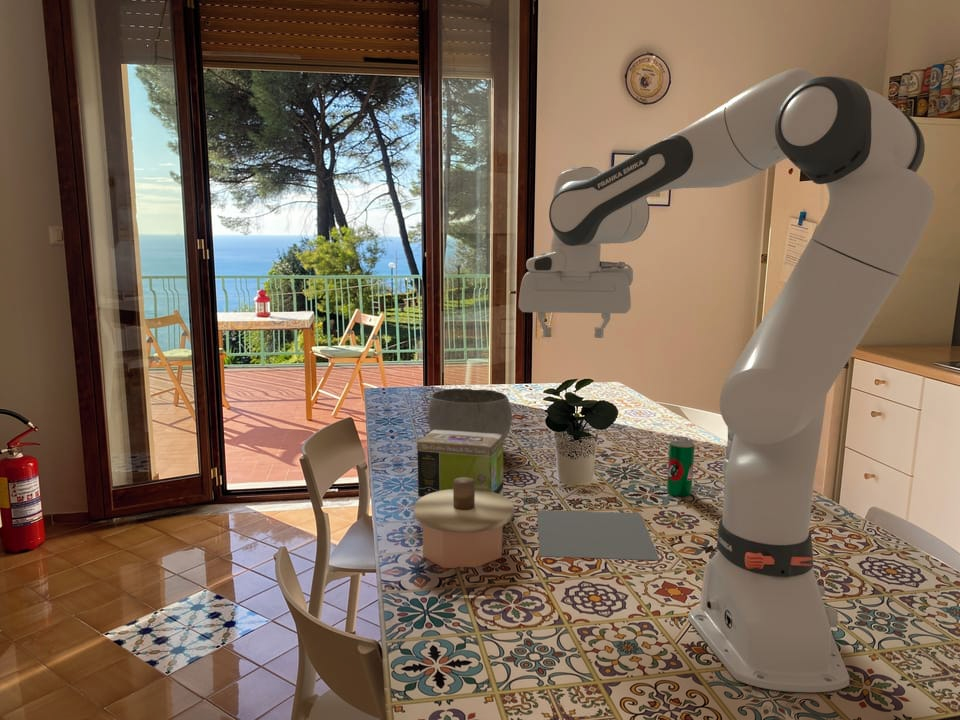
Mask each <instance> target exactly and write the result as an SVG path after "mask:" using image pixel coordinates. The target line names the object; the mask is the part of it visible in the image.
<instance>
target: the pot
mask: <svg viewBox="0 0 960 720" xmlns="http://www.w3.org/2000/svg"><path fill="white" fill-rule="evenodd" d="M503 527H504V525H502V526H500V527H498V528H494V529H491V530H486V531H481V532H469V533H458V532H447V531H441V530H437V529H433V528H430V527H427V526H425V525H423V524H422V557H423V558H425V559H427V560H428V561H430V562H432V563H434V564H435V565H438V566H439V567H440V568H443V569H457V568H458V567H461V568H462V567H463V568H479V567H481V566H483V565H486V564H488V563H491V562H492V561H493V562H494V561H495V560H498V559H501V558H502V552H503V551H502V550H503Z"/></svg>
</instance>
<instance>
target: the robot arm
mask: <svg viewBox="0 0 960 720" xmlns="http://www.w3.org/2000/svg"><path fill="white" fill-rule="evenodd" d="M923 135H924V134H923V133H922V131H921V129H920V127H919V125H918V124H917V123H916V121H915V120H914V119H913V118H912V117H910V116H909V115H908V114H906V113H905V112H902V111H901V110H900V109H899V108H897V106H895V105H894V104H893V103H892V102H891V101H890V99H888V98H886V97H885V96H883V95H881V94H880V93H878V92H876V91H874V90H872V89H869V88H867V87H864V86H862V85H861V84H860V83H858V82H856V81H854V80H852V79H849V78H845V77H840V76H830V75H829V76H819V75H818V74H817V73H815V72H814V71H812V70H810V69H807V68H804V67H802V68H801V67H794V68H790V69H786V70H785V71H781V72H779V73H777V74H774V75H773V76H770V77H768V78H767V79H764V80H762V81H760V82H758V83H756V84H754V85H752V86H751V87H748V88H746V89H745V90H744V91H742V92H740V93H739V94H737V95H735V96H734V97H732V98H731V99H729V100H727V101H725V102H724V103H723V104H721V105H719V106H717V107H716V108H715V109H714V110H712V111H711V112H709V113H707V114H705V115H704V116H702V117H700V118H699V119H698V120H696V121H694V122H692V123H691V124H689V125H687V126H685V127H684V128H683V129H680V130H678V131H676V132H674V133H672V134H670V135H669V136H667V137H666V138H664V139H662V140H660V141H658V142H656V143H654V144H652V145H649V146H648V147H646V148H644V149H642V150H640V151H638V152H637V153H635V154H633V155H631V156H630V157H628V158H626V159H624V160H623V161H621V162H618V163H616V164H615V165H612V166H611V167H610V168H608V169H606V170H603V172H601V171H600V169H598V168H597V167H592V166H579V167H573V168H569V169H566V170H564V171H562V172H561V173H559V174H558V176H557V177H556V180H555V183H554V189H553V194H552V195H553V196H552V199H551V203H550V205H549V209H548V211H549V213H548V217H549V222H550V223H549V224H550V227H551V229H552V231H553V236H552V239H551V242H550V244H551V245H550V252H547V253H544V252H543V253H541V254H540V255H537V256H533V257H530V258H529V259H527V260H526V264H525V265H526V269H527V272H526V273H525V274H524V275H523V277H522V279H521V283H520V290H519V295H518V296H519V297H518V309H519V310H520V311H521V312H522V313H537V320H538V322H539V323H540V325H541V327H542V337H543V338H552V326H548V325H546V323H545V321H544V319H546V314H547V313H554V314H557V313H560V314H562V313H564V314H566V313H568V314H576V313H577V314H600V316H601V319H602V322H601V323H600V325H599V326H597V327H595V326H594V334H593V335H594V336H593V337H594V338H595V339H604V330H605V328H606V327H607V325H608V324H609V322H610V321H611V314H627V313H629V311H630V310H631V308H632V304H631V302H632V300H631V288H630V286H631V285H632V283H633V281H634V280H633V279H634V270H633V268H632V267H631V265H629V264H627V263H626V262H624V261H601V248H602V247H601V245H604V244H605V245H607V244H625V243H629V242H634V241H636V240H638V239H639V238H640V237H641V236H643V234H644V232H646V229H647V227H648V224H649V220H650V205H649V202H648V199H647V197H649V196H652V195H654V194H657V193H661V192H666V191H670V190H672V191H673V190H679V189H700V188H701V189H702V188H703V189H704V188H705V189H706V188H711V189H712V188H722V187H723V188H724V187H727V186H730V185H734V184H737V183H740V182H743V181H745V180H748V179H750V178H752V177H753V178H754V176H756V175H759V174H760V173H762V172H764V171H766V170H768V169H770V168H772V167H773V166H775V165H777V164H779V163H780V162H782V161H783V160H786V159H788V160H789V161H790V162H791V163H792V164H793V165H794V166H795V167H796V168H798V169H799V170H800V171H801V172H802V173H803V174H804V175H806V176H807V178H809V180H811V181H812V182H813V184H817V185H824V184H825V185H826V187H827V190H828V193H829V194H828V195H829V199H828V200H829V201H828V204H827V208H826V210H825V212H824V215H823V216H822V219H821V220H820V222H819V223H818V225H817V227H816V229H815V231H814V232H813V234H812V236H811V238H810V240H809V241H808V243H807V245H806V247H805V248H804V250H803V252H802V253H801V255H800V257H799V259H798V261H797V263H796V265H794V267H793V270H792V271H791V273H790V275H789V277H788V279H787V280H786V282H785V284H784V286H783V287H782V289H781V291H780V293H779V294H778V296H777V297H776V299H775V301H774V303H773V304H772V305H771V307H770V308H769V310H768V311H767V313H766V314H765V316H764V317H763V319H762V321H761V322H760V323H759V325H758V326H757V328H756V330H755V331H754V333H753V334H752V336H751V338H750V339H749V340H748V342H747V344H746V346H745V347H744V349H743V350H742V352H741V353H740V355H739V356H738V358H737V360H736V362H735V363H734V365H733V367H731V370H730V372H729V373H728V374H727V376H726V378H725V381H724V383H723V385H722V388H721V392H720V397H719V410H720V415H721V417H722V420H723V421H724V423H725V425H726V427H727V429H728V428H729V429H730V430H731V431H732V432H733V433H734V438H733V443H732V448H731V452H730V456H729V460H728V463H727V467H726V476H724V477H725V480H724V490H723V491H724V493H723V506H722V518H721V519H720V520H719V523H718V528H717V532H716V538H717V541H716V546H717V550H716V552H715V554H714V555H713V556H712V557H711V558H710V559H709V560H708V561H707V562H706V563H705V564H704V565H705V566H704V570H703V578H702V585H701V594H700V599H699V600H700V601H699V606H697V607H695V608H691V610H690V611H688V616H687V619H688V621H689V623H690V624H691V626H693V628H694V629H695V630H696V631H697V633H698V635H700V637H701V638H702V639H703V640H704V642H705V643H706V644H707V646H708V647H709V648H710V649H711V650H712V652H713V653H714V654H715V656H716V657H717V658H718V659H719V661H720V663H722V664H723V666H724V667H725V668H726V670H727V672H729V673H730V675H731V676H732V677H733V678H734V679H735V680H736V681H738V682H741V683H743V684H747V685H750V686H754V687H757V688H761V689H767V690H771V691H772V690H773V691H780V692H791V693H793V692H794V693H823V692H824V693H827V692H832V691H839V690H842V689H844V688H846V687H848V686H849V685H850V675H849V672H848V670H847V667H846V666H845V662H844V660H843V658H842V655H841V653H840V651H839V648H838V645H837V642H836V641H835V638H834V635H833V633H832V630H831V628H837V627H838V624H839V623H838V622H839V615H838V611H837V610H836V609H835V608H833V607H826V606H825V604H824V601H823V597H825V595H826V590H825V586H823V585H819V583H818V580H817V577H816V575H815V570H814V569H815V567H814V557H813V555H814V545H813V540H812V535H811V532H810V524H811V515H812V513H811V512H812V505H813V504H812V503H813V494H814V492H813V491H814V483H815V474H816V470H817V463H818V457H819V450H820V446H821V440H822V439H821V438H822V431H823V424H824V419H825V410H826V403H827V397H828V396H827V395H828V393H829V392H830V390H831V388H832V386H833V385H834V384H835V381H836V380H837V379H838V377H839V376H840V374H841V372H842V371H843V369H844V368H845V366H846V364H847V363H848V362H849V359H850V358H851V356H852V355H853V354H854V352H855V350H856V348H857V347H858V345H859V344H860V342H861V341H862V339H863V338H864V336H865V334H866V333H867V331H868V330H869V329H870V326H871V325H872V323H873V322H874V320H875V319H876V318H877V315H878V314H879V312H880V311H881V309H882V307H883V306H884V304H885V302H886V301H887V299H888V298H889V296H890V294H892V291H893V290H894V288H895V287H896V285H897V283H898V281H899V280H900V278H901V276H903V273H904V271H905V270H906V268H907V266H908V265H909V263H910V261H911V260H912V258H913V255H914V254H915V252H916V250H917V248H918V245H919V244H920V242H921V239H922V238H923V235H924V234H925V233H924V232H925V231H926V228H927V225H928V223H929V221H930V218H931V216H932V213H933V210H934V208H935V207H934V206H935V203H936V202H935V201H936V199H935V192H934V190H933V188H932V187H931V185H930V184H929V183H928V181H927V180H926V179H925V178H924V177H923V176H921V175H920V174H919V173H917V172H918V170H919V168H920V166H921V165H922V162H923V159H924V156H925V151H926V146H925V139H924V136H923Z"/></svg>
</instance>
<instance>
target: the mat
mask: <svg viewBox="0 0 960 720" xmlns="http://www.w3.org/2000/svg"><path fill="white" fill-rule="evenodd" d="M536 515H537V532H538V533H537V534H538V548H539V549H538V551H539V554H538V555H539V557H541V558H542V557H543V558H544V557H545V558H567V559H568V558H569V559H570V558H571V559H572V558H573V559H574V558H575V559H599V560H600V559H603V560H605V559H606V560H631V561H632V560H635V561H661V559H660V556H659V554H658V552H657V549H656V547H655V545H654V543H653V540H652V538H651V535H650V533H649V531H648V528H647V526H646V523H645V520H644V518H643V517H642V514H641V513H640V512H638V513H637V512H612V511H611V512H610V511H609V512H608V511H580V510H579V511H573V510H544V509H543V510H542V509H541V510H539V509H537V510H536Z"/></svg>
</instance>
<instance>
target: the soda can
mask: <svg viewBox="0 0 960 720" xmlns="http://www.w3.org/2000/svg"><path fill="white" fill-rule="evenodd" d="M668 444H669V446H668V447H669V448H668V461H667V477H666V480H667V481H666V492H667V494H668V495H671V496H673V497H676V498H677V497H678V498H679V497H680V498H686V497H689V496H691V495H692V493H693V492H692V491H693V481H694V480H693V479H694V478H693V477H694V476H693V475H694V463H695V449H696V447H695V444H694V440H693V439H692V438H690V437H687V436H673V437H671V441H669V443H668Z"/></svg>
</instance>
